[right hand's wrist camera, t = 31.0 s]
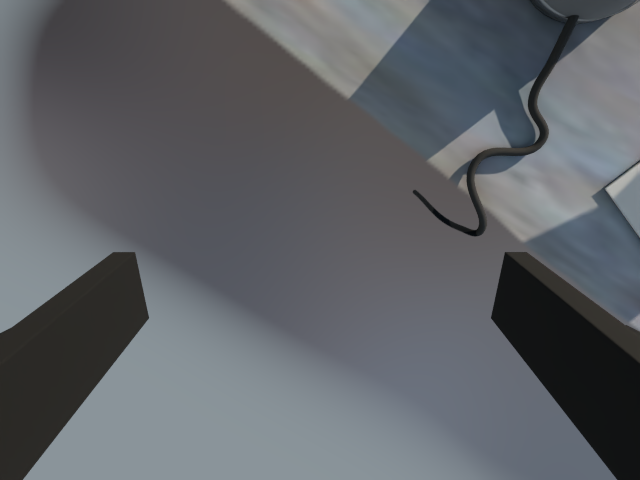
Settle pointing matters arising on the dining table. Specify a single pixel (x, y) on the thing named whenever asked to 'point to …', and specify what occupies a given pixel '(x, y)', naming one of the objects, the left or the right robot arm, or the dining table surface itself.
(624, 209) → the invitation card
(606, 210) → the dining table surface
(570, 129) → the dining table surface
